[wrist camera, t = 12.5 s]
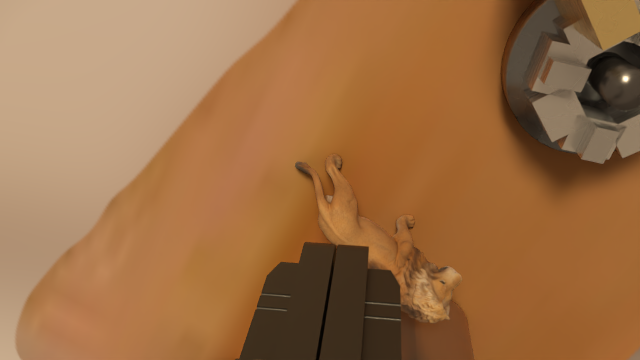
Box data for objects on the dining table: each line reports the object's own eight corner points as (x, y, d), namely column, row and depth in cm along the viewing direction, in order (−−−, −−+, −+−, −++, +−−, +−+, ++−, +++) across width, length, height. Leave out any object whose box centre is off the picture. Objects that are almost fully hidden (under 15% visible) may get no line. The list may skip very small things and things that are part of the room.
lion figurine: (462, 230, 43) (478, 306, 35) (422, 271, 45) (428, 349, 37) (313, 136, 40) (293, 194, 32) (279, 184, 43) (254, 249, 35)
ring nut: (710, 95, 33) (783, 141, 27) (561, 163, 36) (594, 217, 30) (622, -147, 27) (687, -159, 21) (456, -40, 31) (472, -24, 25)
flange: (689, 123, 36) (739, 162, 31) (510, 156, 39) (528, 196, 34) (698, -58, 31) (760, -49, 26) (491, -6, 34) (509, 13, 28)
